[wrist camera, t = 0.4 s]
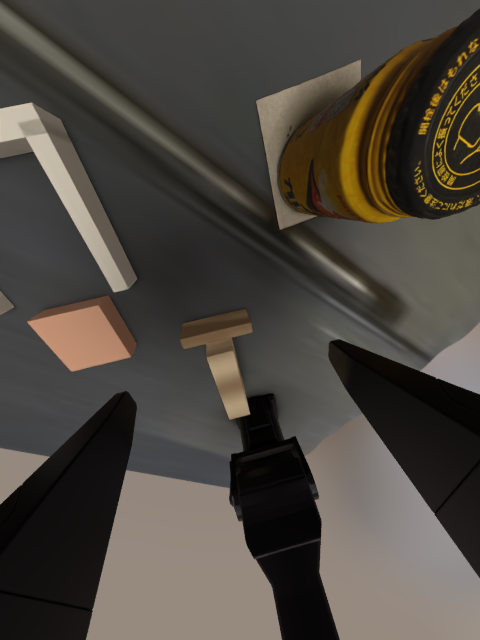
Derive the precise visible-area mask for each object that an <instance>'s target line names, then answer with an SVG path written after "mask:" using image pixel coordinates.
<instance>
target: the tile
mask: <svg viewBox="0 0 480 640" xmlns="http://www.w3.org/2000/svg"><path fill="white" fill-rule="evenodd" d="M27 322H28V324H29V325H30V326H31V327H32V328H33V329H34V330H35V331H36V332H37V334H38V335H39V336H40V337H41V338H42V339H43V340H44V341H45V343H46V344H47V345H48V346H49V347H50V348H51V349H52V350H53V351H54V353H55V354H56V355H57V356H58V357H59V358H60V359H61V360H62V362H63V363H64V364H65V365H66V366H67V367H68V368H69V369H70V370H71V372H72V371H76V370H80V369H84V368H88V367H92V366H96V365H101V364H105V363H109V362H113V361H117V360H121V359H125V358H130V357H131V356H132V354H133V352H134V350H135V348H136V346H137V343H136V341H135V339H134V338H133V336H132V334H131V333H130V331H129V329H128V328H127V326H126V324H125V323H124V321H123V319H122V317H121V316H120V314H119V312H118V311H117V309H116V307H115V306H114V304H113V302H112V300H111V299H110V297H109V295H108V296H104V297H100V298H95V299H91V300H86V301H82V302H78V303H73V304H69V305H64V306H60V307H56V308H51V309H47V310H44V311H42V312H41V313H39V314H38V315H36V316H35V317H33V318H32V319H30V320H29V321H27Z"/></svg>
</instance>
